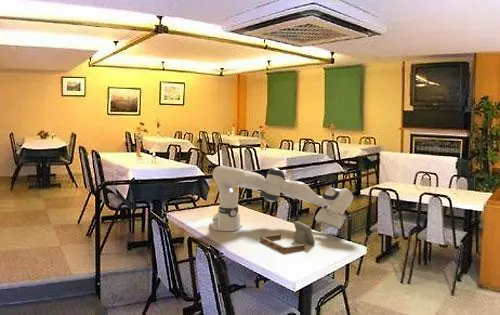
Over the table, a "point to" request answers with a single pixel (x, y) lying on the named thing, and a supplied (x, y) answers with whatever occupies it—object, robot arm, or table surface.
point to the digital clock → (303, 234)
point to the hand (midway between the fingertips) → (321, 230)
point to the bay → (283, 249)
